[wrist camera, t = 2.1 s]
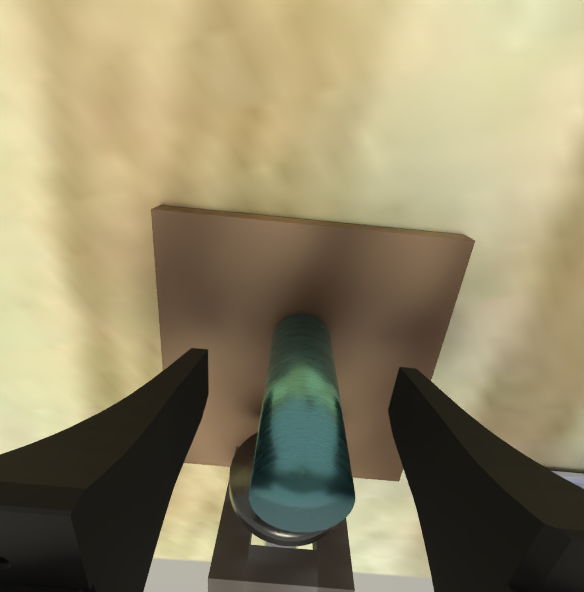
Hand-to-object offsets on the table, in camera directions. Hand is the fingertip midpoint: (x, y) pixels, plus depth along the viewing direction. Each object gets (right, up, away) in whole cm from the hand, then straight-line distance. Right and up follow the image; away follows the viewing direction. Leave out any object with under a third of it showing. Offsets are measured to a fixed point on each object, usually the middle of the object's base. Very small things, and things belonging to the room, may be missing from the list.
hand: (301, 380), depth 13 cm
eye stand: (0, 0, +5) cm, 5 cm away
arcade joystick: (0, -3, +4) cm, 5 cm away
